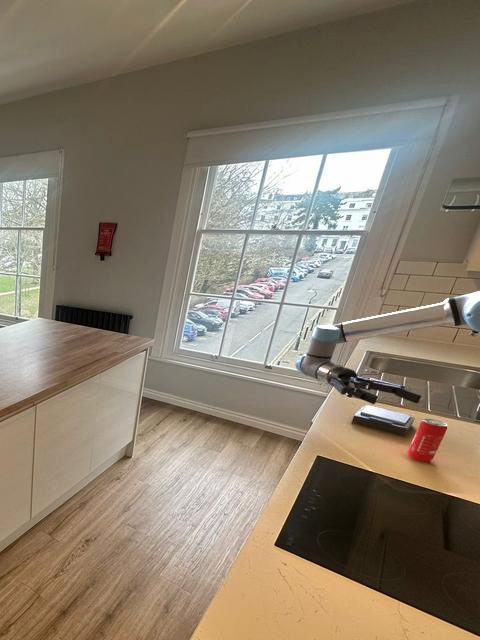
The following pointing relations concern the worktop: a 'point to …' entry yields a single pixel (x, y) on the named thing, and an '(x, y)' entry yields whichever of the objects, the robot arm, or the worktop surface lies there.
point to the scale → (383, 420)
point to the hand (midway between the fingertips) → (397, 399)
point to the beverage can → (427, 440)
